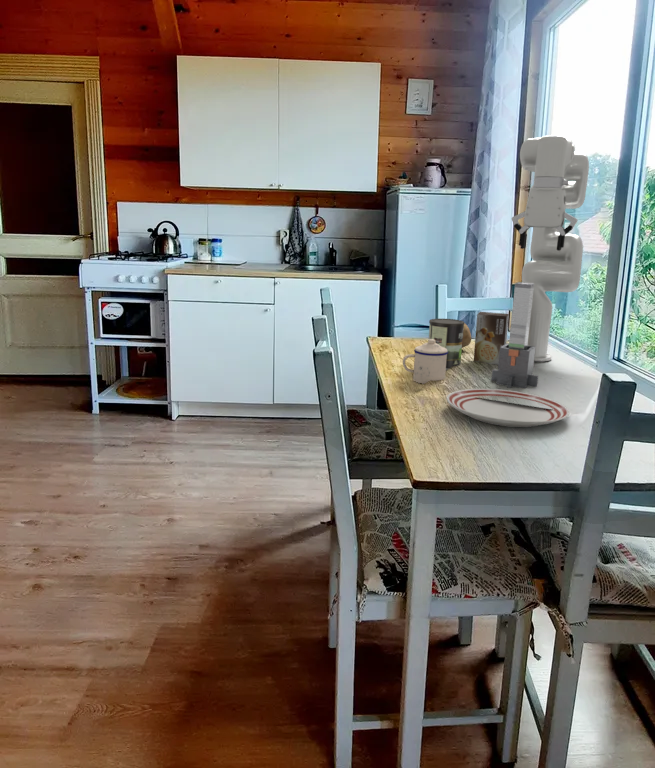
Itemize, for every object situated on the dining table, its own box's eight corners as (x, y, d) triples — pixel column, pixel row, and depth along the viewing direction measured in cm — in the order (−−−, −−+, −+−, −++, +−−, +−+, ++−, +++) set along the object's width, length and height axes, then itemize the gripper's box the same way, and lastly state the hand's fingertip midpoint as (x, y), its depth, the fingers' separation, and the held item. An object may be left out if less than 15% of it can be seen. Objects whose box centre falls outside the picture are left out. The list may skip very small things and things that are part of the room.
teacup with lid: (443, 378, 181) (447, 337, 178) (447, 386, 172) (450, 343, 169) (401, 376, 182) (403, 335, 179) (402, 384, 173) (404, 341, 170)
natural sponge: (441, 346, 226) (444, 318, 224) (467, 347, 226) (469, 319, 223) (444, 351, 217) (447, 322, 215) (471, 352, 217) (473, 323, 214)
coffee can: (460, 364, 198) (464, 319, 195) (460, 372, 189) (464, 324, 185) (427, 362, 200) (430, 317, 197) (425, 369, 191) (428, 322, 187)
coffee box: (505, 364, 200) (510, 313, 196) (502, 368, 194) (507, 316, 190) (475, 361, 203) (480, 311, 199) (472, 365, 198) (476, 313, 194)
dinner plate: (508, 395, 166) (510, 382, 166) (595, 425, 143) (597, 411, 142) (421, 406, 154) (422, 393, 153) (500, 442, 131) (502, 426, 130)
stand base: (496, 380, 180) (500, 341, 178) (540, 386, 175) (545, 346, 172) (485, 389, 170) (489, 348, 167) (531, 396, 165) (536, 353, 162)
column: (510, 360, 174) (518, 282, 168) (525, 362, 172) (534, 283, 167) (506, 363, 170) (514, 283, 164) (521, 365, 168) (530, 284, 162)
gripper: (583, 185, 172) (575, 250, 177) (518, 185, 180) (512, 247, 185) (579, 184, 166) (571, 251, 170) (512, 183, 174) (506, 248, 178)
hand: (540, 249), depth 178 cm, fingers open, 9 cm apart
